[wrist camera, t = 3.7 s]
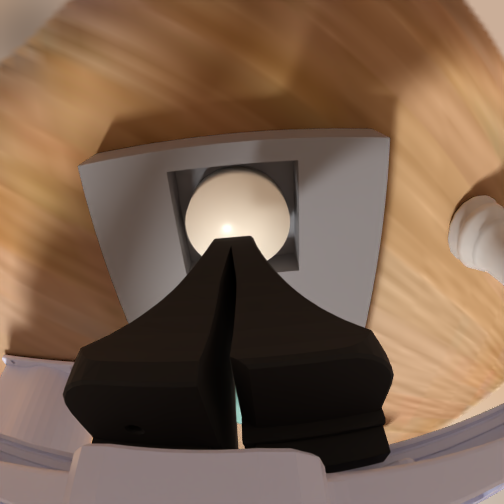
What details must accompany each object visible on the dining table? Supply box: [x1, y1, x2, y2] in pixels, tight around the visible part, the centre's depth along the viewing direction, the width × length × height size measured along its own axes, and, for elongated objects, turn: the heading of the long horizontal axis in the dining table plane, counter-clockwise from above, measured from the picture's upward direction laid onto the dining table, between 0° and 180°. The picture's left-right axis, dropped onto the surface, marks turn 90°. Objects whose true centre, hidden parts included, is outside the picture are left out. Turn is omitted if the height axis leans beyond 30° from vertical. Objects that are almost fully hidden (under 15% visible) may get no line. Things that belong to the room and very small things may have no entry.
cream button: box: [185, 166, 290, 260], centre depth 14 cm, size 4×4×1 cm
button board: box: [78, 128, 390, 328], centre depth 18 cm, size 13×20×2 cm, turn 4°
